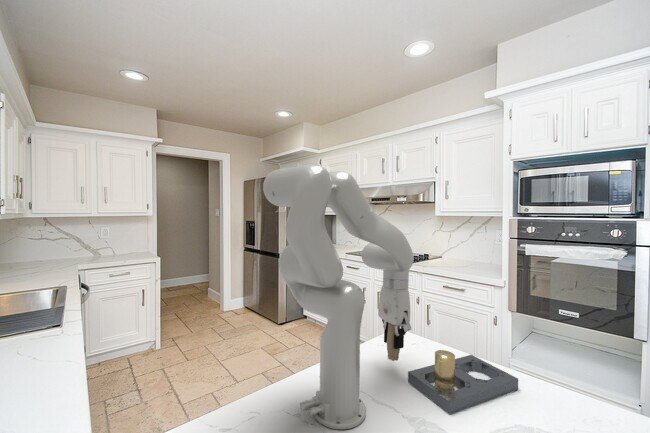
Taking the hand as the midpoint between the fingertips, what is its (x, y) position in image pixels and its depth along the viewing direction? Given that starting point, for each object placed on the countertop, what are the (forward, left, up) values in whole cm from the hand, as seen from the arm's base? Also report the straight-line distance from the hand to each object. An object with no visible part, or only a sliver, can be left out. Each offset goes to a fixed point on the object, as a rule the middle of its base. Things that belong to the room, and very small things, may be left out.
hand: (393, 344), depth 91 cm
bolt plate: (+13, -14, -8) cm, 21 cm away
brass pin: (+7, -14, -8) cm, 17 cm away
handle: (0, 0, -4) cm, 4 cm away
